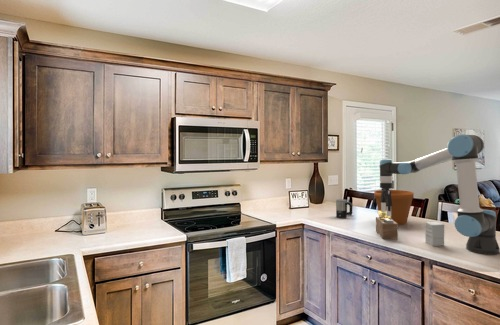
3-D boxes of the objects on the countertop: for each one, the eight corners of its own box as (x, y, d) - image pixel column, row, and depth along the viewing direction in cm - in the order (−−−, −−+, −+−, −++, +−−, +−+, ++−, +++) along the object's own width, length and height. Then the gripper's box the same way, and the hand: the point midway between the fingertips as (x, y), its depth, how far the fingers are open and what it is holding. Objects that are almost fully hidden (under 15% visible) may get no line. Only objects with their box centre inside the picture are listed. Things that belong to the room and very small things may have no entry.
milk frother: (335, 218, 269) (335, 200, 268) (335, 214, 284) (335, 197, 283) (353, 218, 265) (353, 201, 264) (352, 214, 280) (352, 198, 279)
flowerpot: (421, 223, 244) (421, 192, 243) (396, 228, 231) (396, 195, 230) (390, 216, 269) (390, 189, 268) (366, 220, 256) (366, 191, 255)
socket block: (397, 239, 204) (397, 223, 203) (382, 238, 205) (382, 223, 205) (389, 231, 222) (389, 217, 222) (376, 231, 224) (375, 217, 223)
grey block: (393, 237, 204) (393, 220, 204) (386, 237, 205) (386, 220, 205) (390, 235, 211) (390, 218, 211) (383, 234, 212) (383, 218, 212)
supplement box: (436, 242, 196) (436, 221, 195) (444, 245, 188) (444, 224, 188) (425, 242, 195) (425, 222, 195) (432, 246, 188) (432, 224, 187)
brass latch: (391, 218, 214) (388, 210, 221) (380, 218, 215) (377, 210, 222) (391, 219, 214) (388, 211, 221) (380, 219, 215) (377, 211, 222)
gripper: (397, 184, 199) (397, 218, 200) (387, 180, 224) (387, 210, 225) (384, 184, 200) (385, 217, 201) (375, 180, 225) (376, 210, 226)
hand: (386, 214), depth 213 cm, fingers open, 13 cm apart
